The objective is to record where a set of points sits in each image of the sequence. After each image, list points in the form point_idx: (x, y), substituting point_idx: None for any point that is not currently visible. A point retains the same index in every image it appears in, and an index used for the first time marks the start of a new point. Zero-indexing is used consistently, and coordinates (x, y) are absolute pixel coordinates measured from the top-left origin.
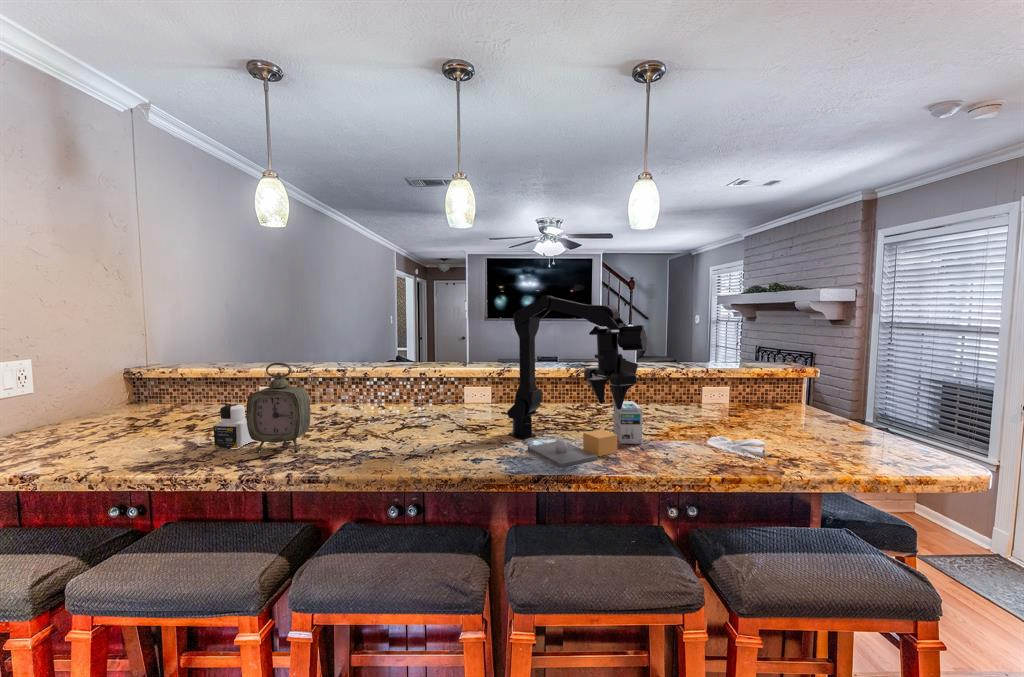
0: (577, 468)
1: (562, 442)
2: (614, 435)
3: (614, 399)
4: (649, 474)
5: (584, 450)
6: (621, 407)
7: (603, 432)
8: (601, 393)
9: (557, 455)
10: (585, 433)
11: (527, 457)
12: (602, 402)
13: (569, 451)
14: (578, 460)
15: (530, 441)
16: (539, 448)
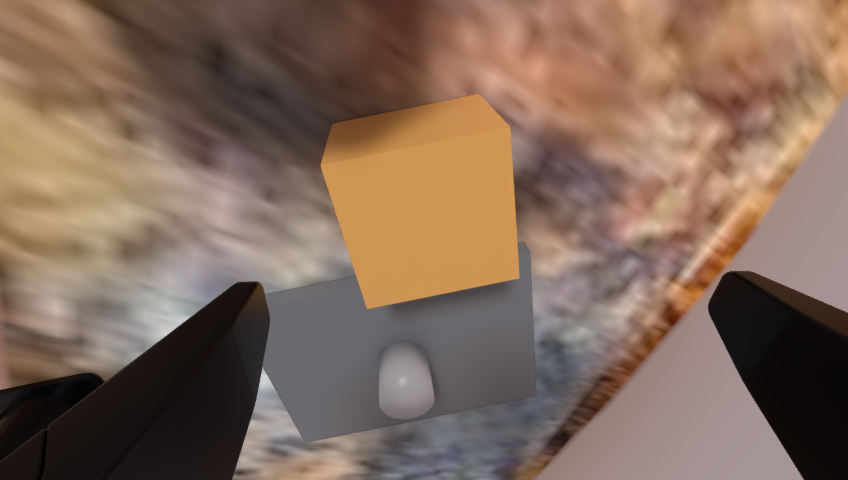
0: (565, 343)
1: (432, 402)
2: (511, 155)
3: (821, 473)
4: (803, 119)
5: None
6: (771, 283)
7: (409, 192)
8: (191, 451)
9: (447, 384)
10: (389, 304)
11: (387, 440)
12: (262, 308)
13: (419, 335)
14: (533, 337)
15: None
16: (339, 415)
